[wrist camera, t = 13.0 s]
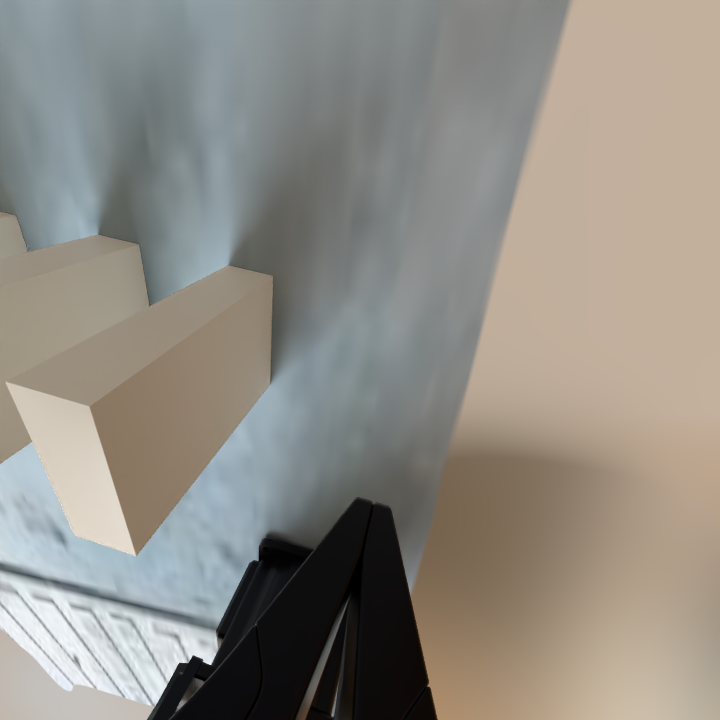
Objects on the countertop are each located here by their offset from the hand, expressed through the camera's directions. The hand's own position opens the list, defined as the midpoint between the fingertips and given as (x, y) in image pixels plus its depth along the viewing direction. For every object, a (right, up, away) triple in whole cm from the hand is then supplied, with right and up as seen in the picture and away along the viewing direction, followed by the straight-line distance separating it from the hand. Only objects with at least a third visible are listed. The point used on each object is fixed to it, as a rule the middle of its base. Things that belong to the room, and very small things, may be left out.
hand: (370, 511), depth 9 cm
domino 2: (-5, +5, +6) cm, 9 cm away
